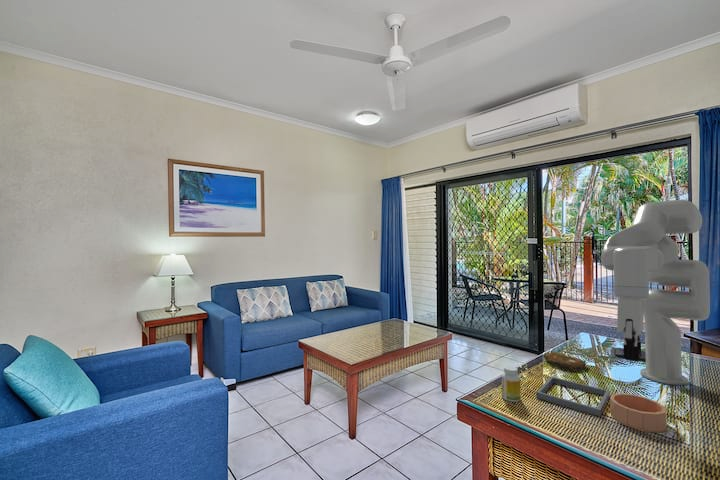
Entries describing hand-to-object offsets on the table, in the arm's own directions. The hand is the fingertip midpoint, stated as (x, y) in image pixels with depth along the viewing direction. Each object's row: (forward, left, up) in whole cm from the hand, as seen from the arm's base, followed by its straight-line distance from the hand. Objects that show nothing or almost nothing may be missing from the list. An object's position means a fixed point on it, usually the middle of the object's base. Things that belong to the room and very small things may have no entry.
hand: (632, 356), depth 92 cm
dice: (0, 0, -1) cm, 1 cm away
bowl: (0, +1, -17) cm, 17 cm away
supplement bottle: (+10, -29, -17) cm, 36 cm away
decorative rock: (-33, -25, -18) cm, 44 cm away
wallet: (-65, -3, -18) cm, 67 cm away
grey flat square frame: (-4, -15, -17) cm, 23 cm away
